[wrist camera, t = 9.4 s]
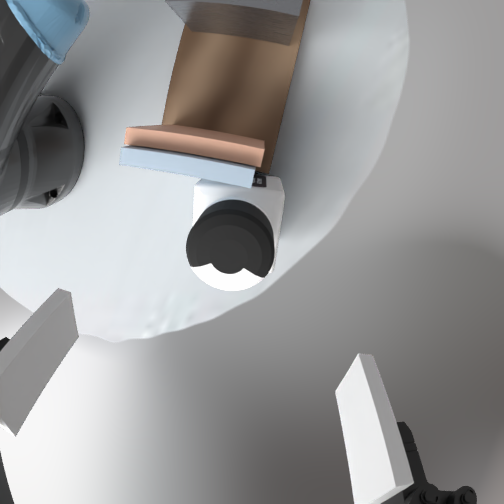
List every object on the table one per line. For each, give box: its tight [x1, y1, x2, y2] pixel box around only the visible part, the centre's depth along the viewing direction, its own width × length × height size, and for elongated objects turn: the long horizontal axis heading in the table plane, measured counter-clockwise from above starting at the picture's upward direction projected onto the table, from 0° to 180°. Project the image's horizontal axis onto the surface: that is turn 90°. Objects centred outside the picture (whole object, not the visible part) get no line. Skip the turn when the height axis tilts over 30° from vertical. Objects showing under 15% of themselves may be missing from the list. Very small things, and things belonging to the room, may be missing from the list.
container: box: [186, 174, 285, 291], centre depth 27 cm, size 8×8×13 cm
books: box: [119, 125, 265, 188], centre depth 23 cm, size 10×2×12 cm, turn 78°
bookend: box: [165, 0, 303, 46], centre depth 19 cm, size 10×2×9 cm, turn 78°
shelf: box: [162, 0, 310, 174], centre depth 25 cm, size 12×21×2 cm, turn 168°
